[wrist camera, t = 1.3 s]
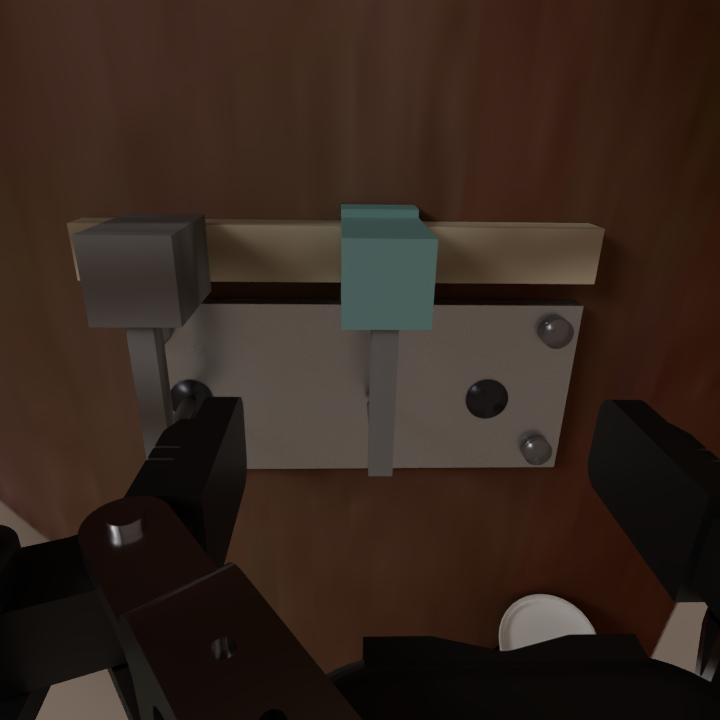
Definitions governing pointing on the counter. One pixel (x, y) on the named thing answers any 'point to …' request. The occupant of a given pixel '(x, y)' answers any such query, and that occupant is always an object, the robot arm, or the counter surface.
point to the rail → (275, 273)
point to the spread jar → (540, 621)
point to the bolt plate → (352, 377)
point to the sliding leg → (385, 302)
